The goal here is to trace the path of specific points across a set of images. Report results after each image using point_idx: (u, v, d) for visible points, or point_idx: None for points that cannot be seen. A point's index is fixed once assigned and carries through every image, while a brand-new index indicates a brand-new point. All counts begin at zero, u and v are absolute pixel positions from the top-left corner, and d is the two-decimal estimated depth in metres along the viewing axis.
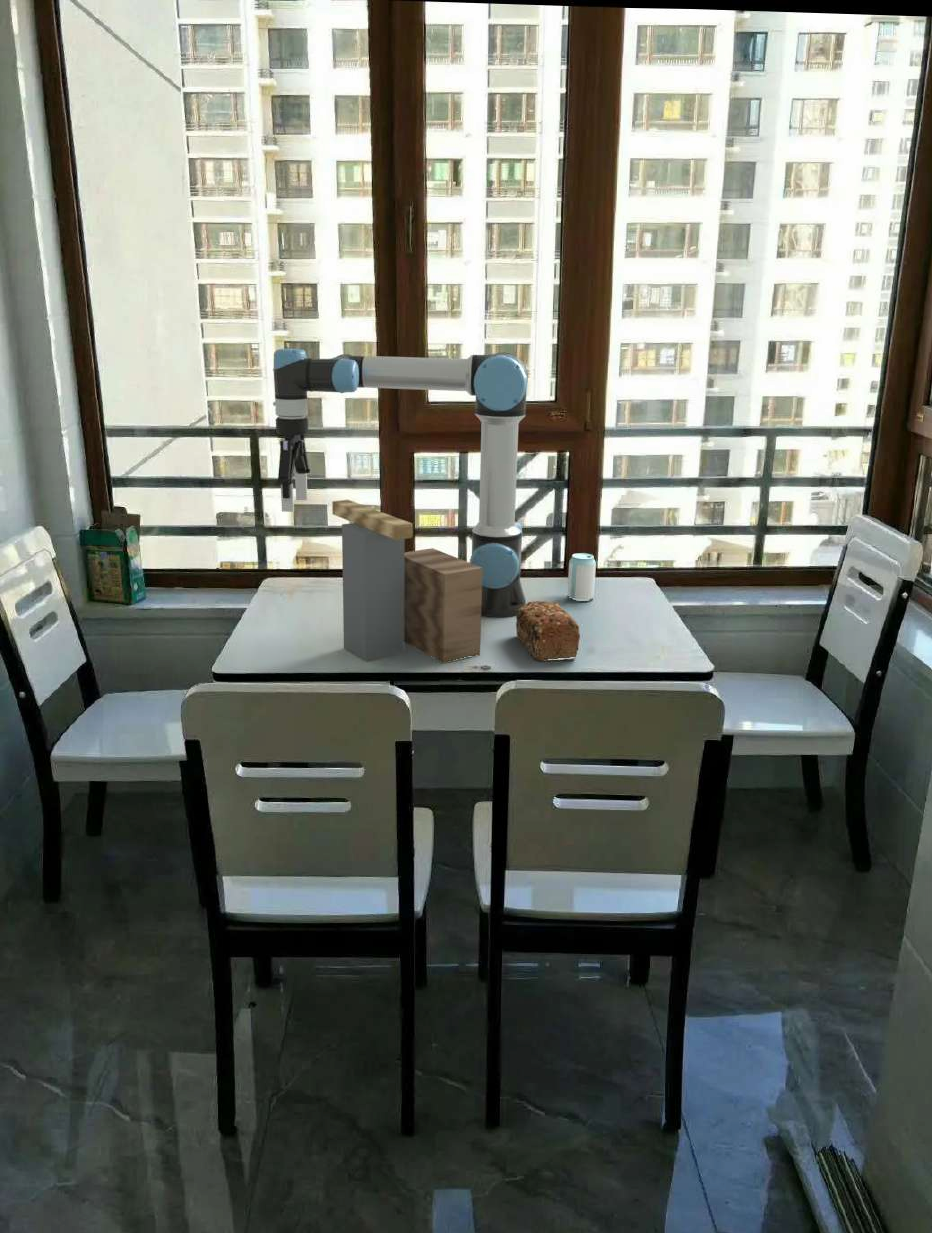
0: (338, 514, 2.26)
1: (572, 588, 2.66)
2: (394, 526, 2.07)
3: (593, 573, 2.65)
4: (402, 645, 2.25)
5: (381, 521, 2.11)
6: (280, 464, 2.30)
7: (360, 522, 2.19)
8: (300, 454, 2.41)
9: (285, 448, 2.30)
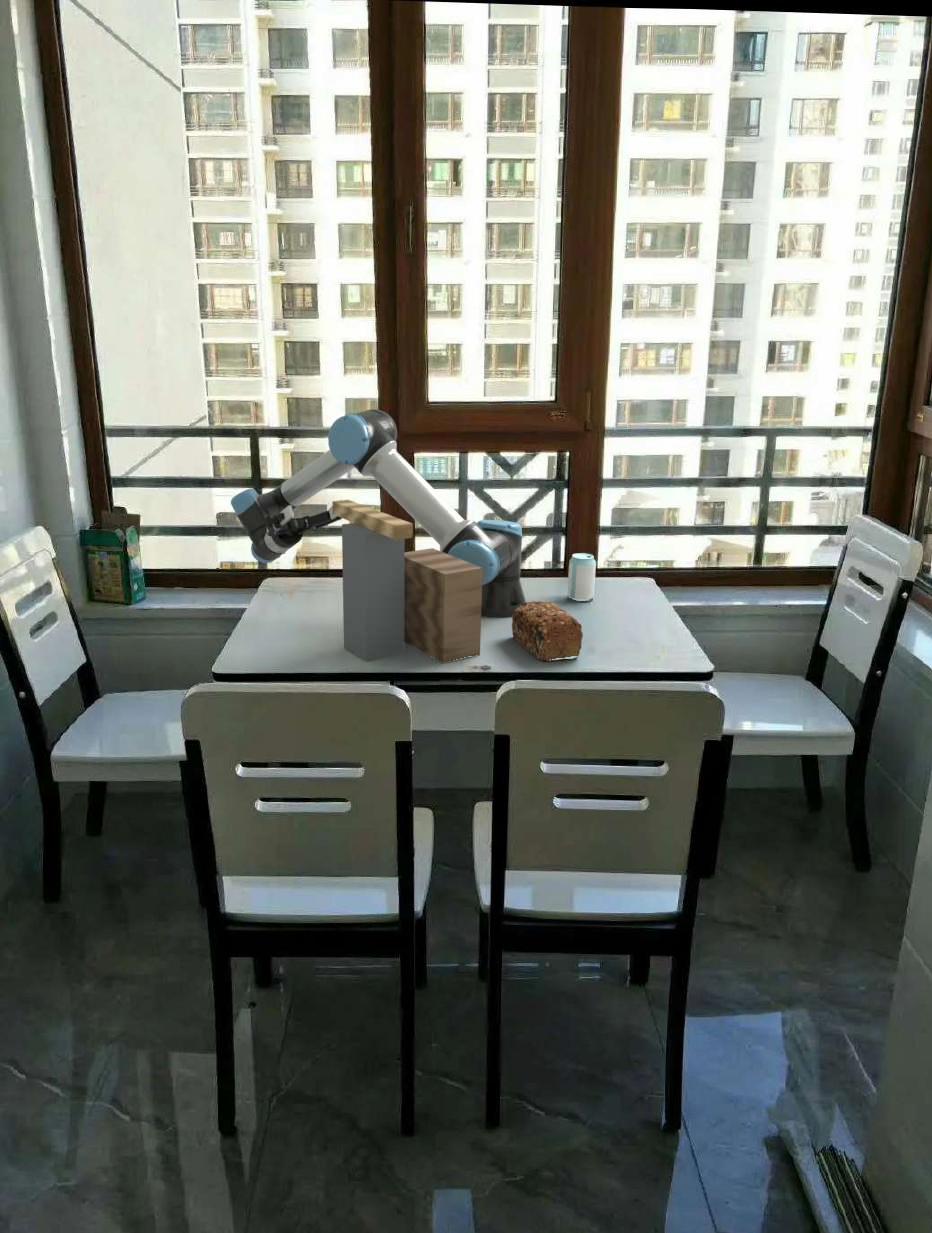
0: (338, 514, 2.26)
1: (572, 588, 2.66)
2: (394, 526, 2.07)
3: (593, 573, 2.65)
4: (402, 645, 2.25)
5: (381, 521, 2.11)
6: (268, 529, 2.44)
7: (360, 522, 2.19)
8: (307, 518, 2.51)
9: (268, 529, 2.48)
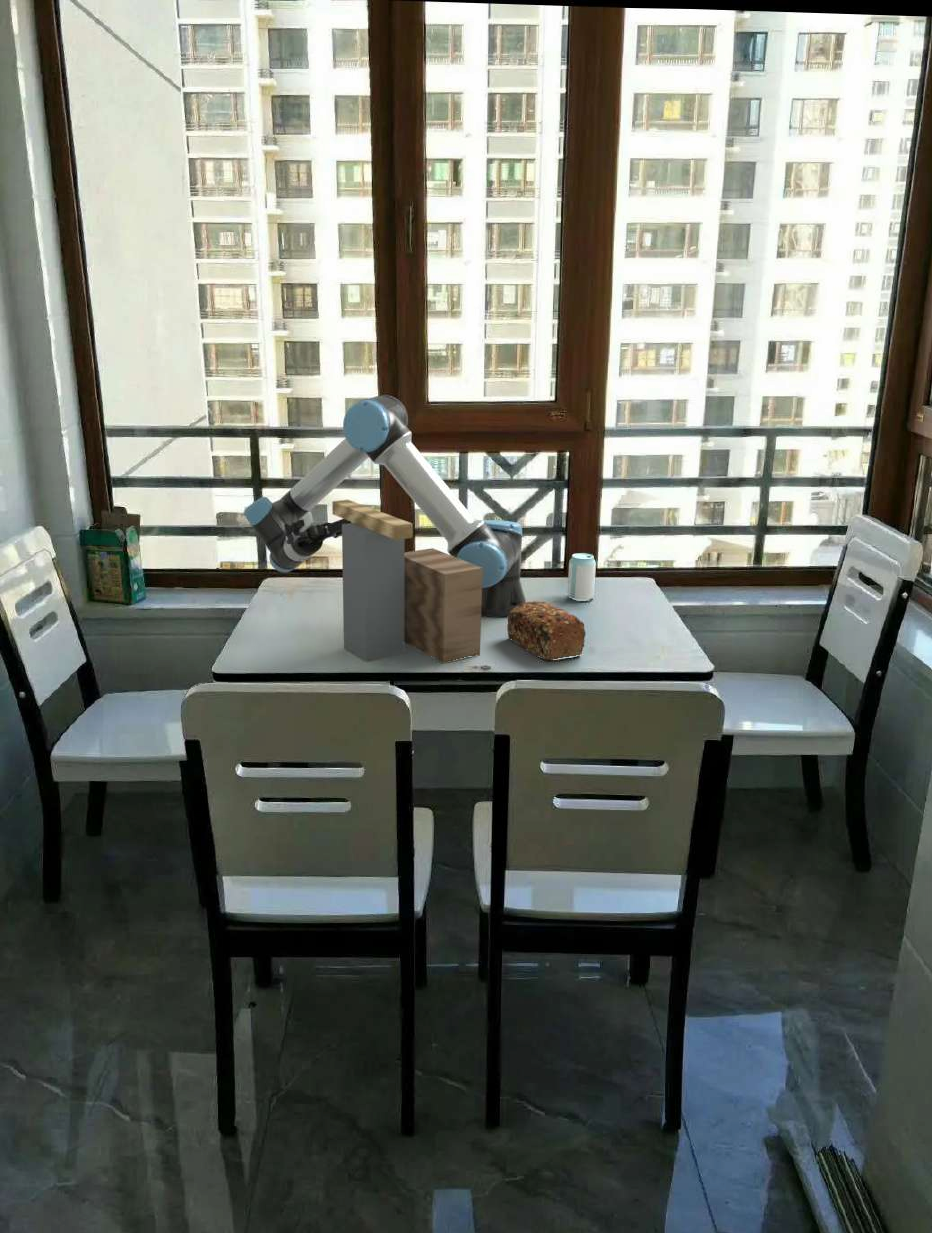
0: (338, 514, 2.26)
1: (572, 588, 2.66)
2: (394, 526, 2.07)
3: (593, 573, 2.65)
4: (402, 645, 2.25)
5: (381, 521, 2.11)
6: (287, 536, 2.34)
7: (360, 522, 2.19)
8: (327, 524, 2.41)
9: (287, 537, 2.38)
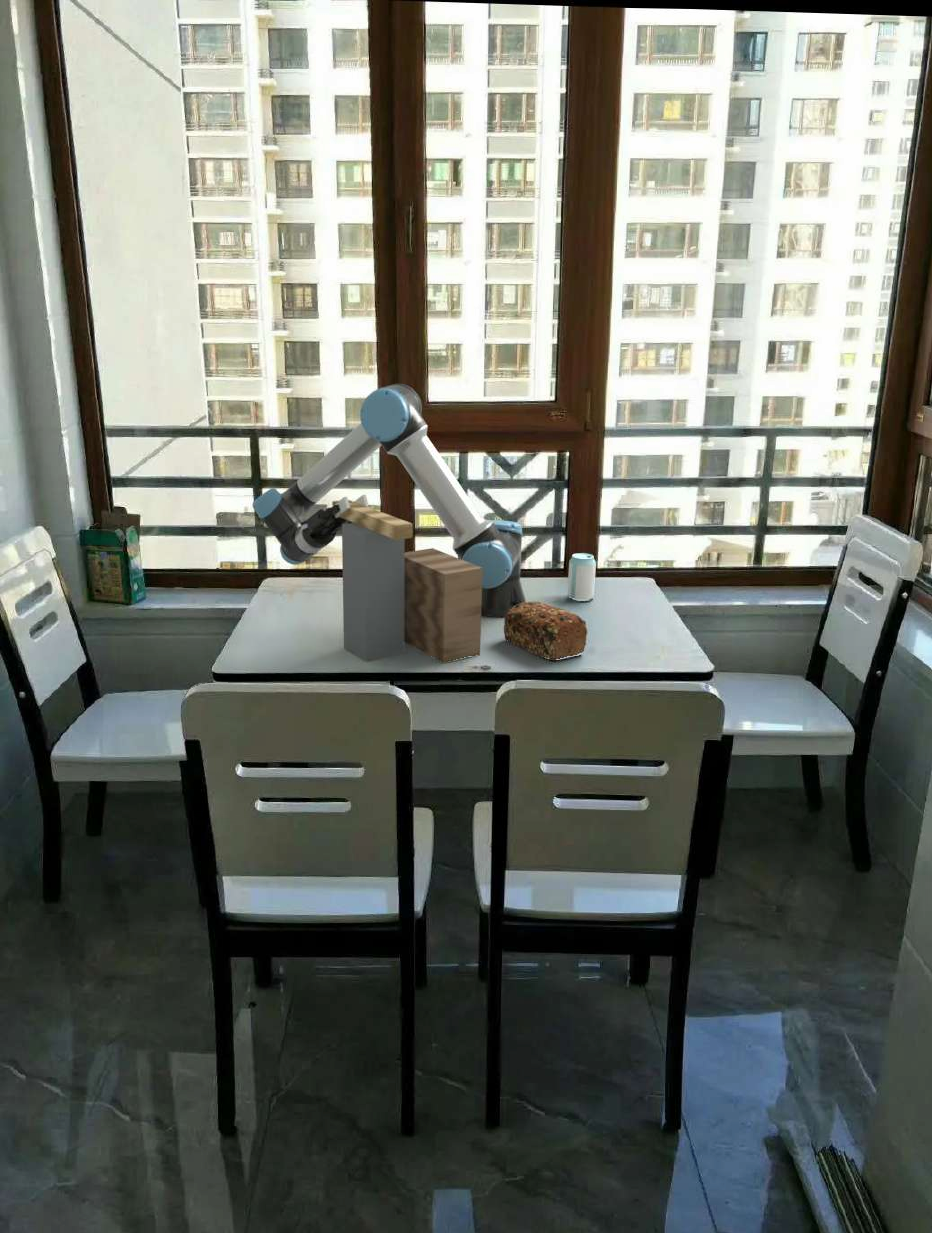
0: None
1: (572, 588, 2.66)
2: (394, 526, 2.07)
3: (593, 573, 2.65)
4: (402, 645, 2.25)
5: (381, 521, 2.11)
6: (314, 523, 2.29)
7: (360, 522, 2.18)
8: None
9: (305, 525, 2.32)
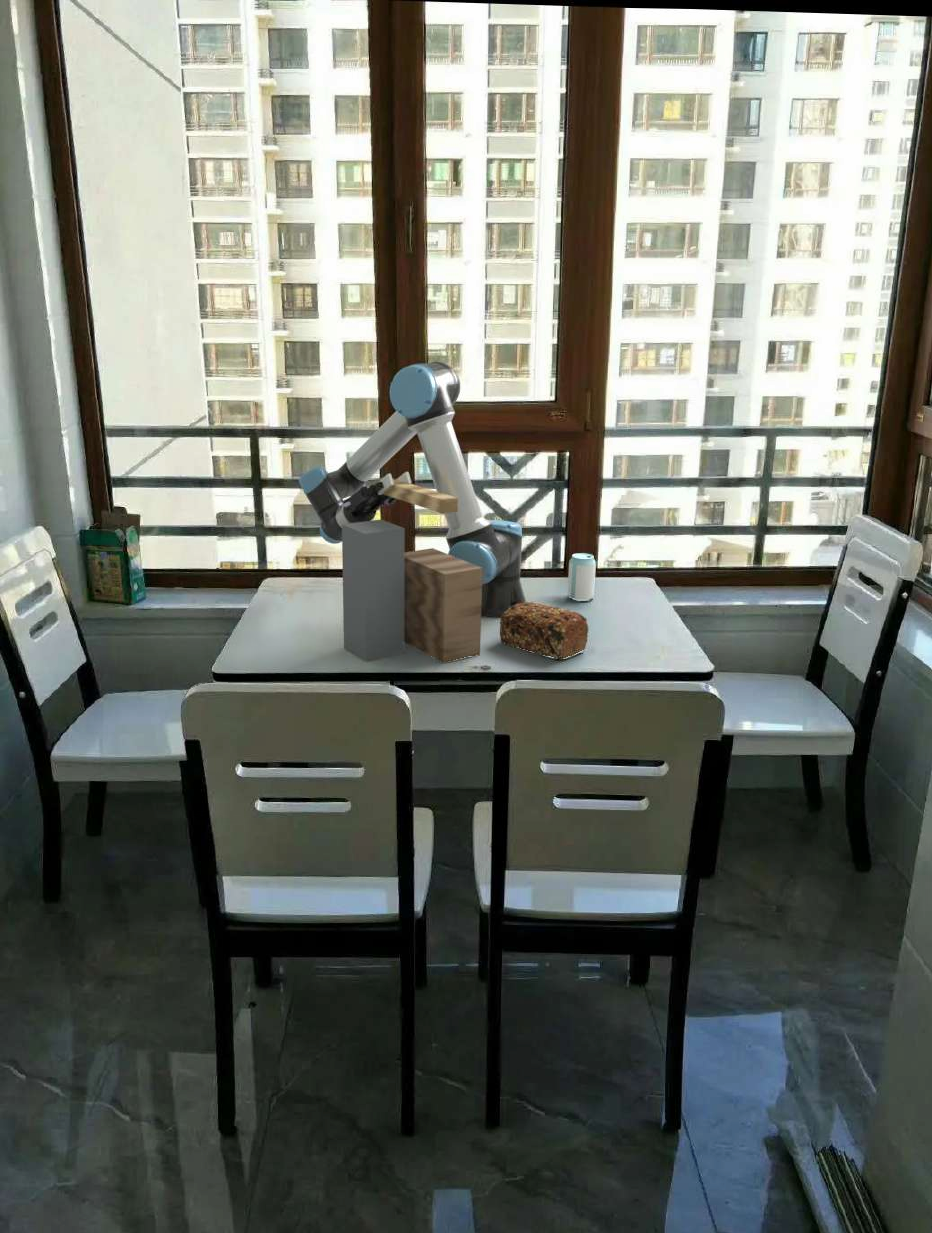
0: None
1: (572, 588, 2.66)
2: (440, 500, 2.12)
3: (593, 573, 2.65)
4: (402, 645, 2.25)
5: (426, 496, 2.16)
6: (357, 501, 2.34)
7: (404, 498, 2.24)
8: (377, 494, 2.40)
9: (348, 503, 2.37)
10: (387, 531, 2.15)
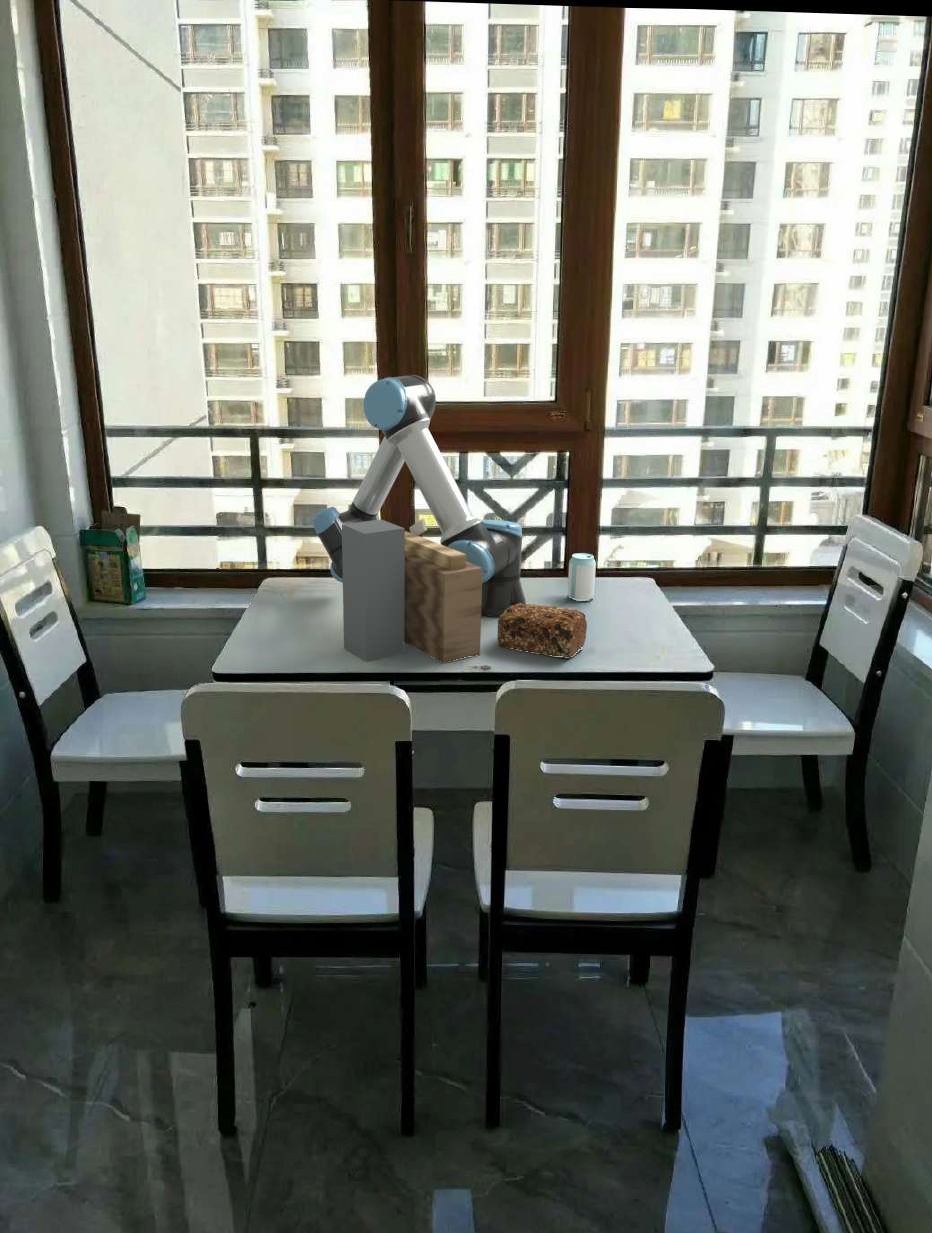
0: None
1: (572, 588, 2.66)
2: (449, 557, 2.17)
3: (593, 573, 2.65)
4: (402, 645, 2.25)
5: (435, 551, 2.21)
6: None
7: (413, 551, 2.29)
8: None
9: None
10: (387, 531, 2.15)
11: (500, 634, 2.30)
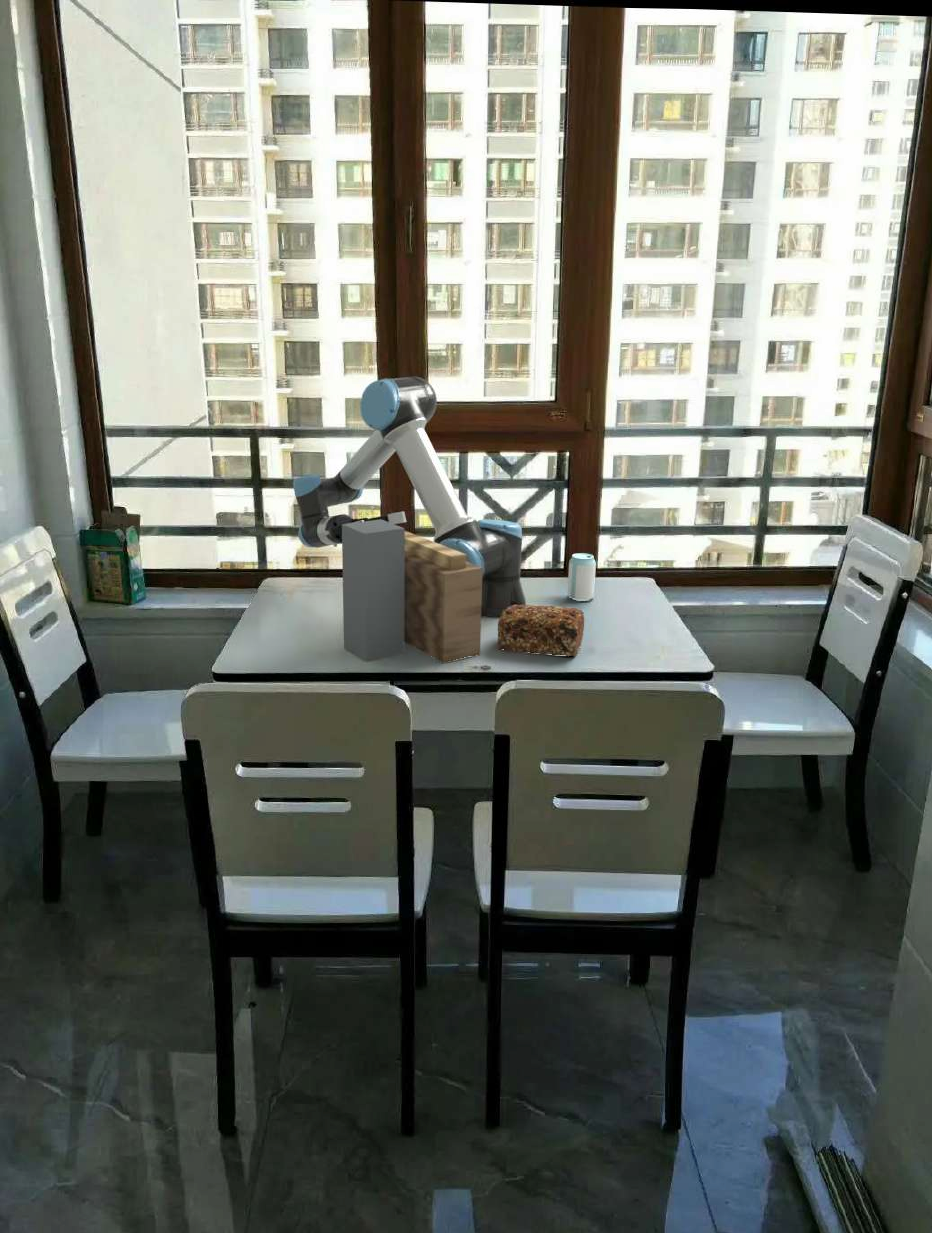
0: None
1: (572, 588, 2.66)
2: (449, 557, 2.17)
3: (593, 573, 2.65)
4: (402, 645, 2.25)
5: (435, 551, 2.21)
6: (330, 535, 2.50)
7: (413, 551, 2.29)
8: (365, 520, 2.57)
9: (328, 532, 2.53)
10: (387, 531, 2.15)
11: (501, 637, 2.28)
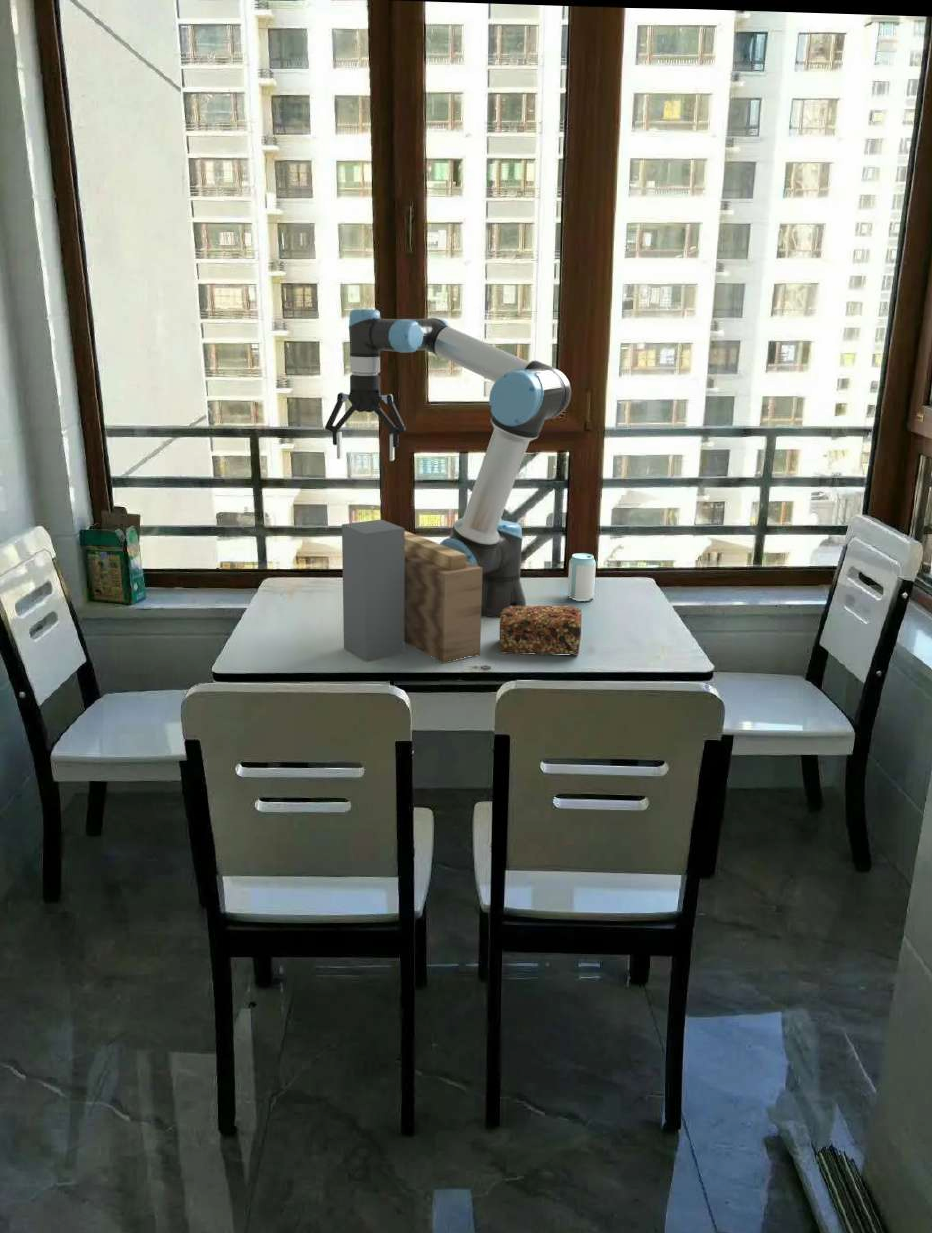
0: None
1: (572, 588, 2.66)
2: (449, 557, 2.17)
3: (593, 573, 2.65)
4: (402, 645, 2.25)
5: (435, 551, 2.21)
6: None
7: (413, 551, 2.29)
8: None
9: None
10: (387, 531, 2.15)
11: (503, 640, 2.27)
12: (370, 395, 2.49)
